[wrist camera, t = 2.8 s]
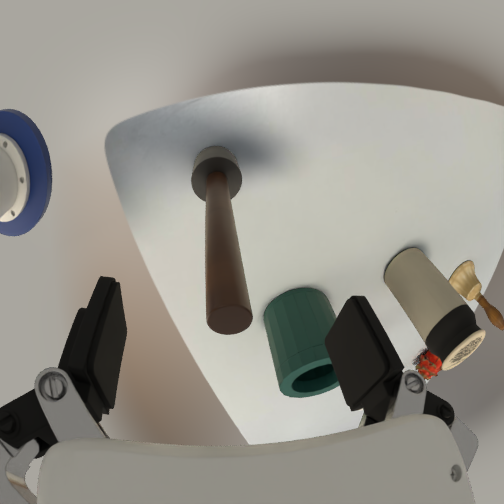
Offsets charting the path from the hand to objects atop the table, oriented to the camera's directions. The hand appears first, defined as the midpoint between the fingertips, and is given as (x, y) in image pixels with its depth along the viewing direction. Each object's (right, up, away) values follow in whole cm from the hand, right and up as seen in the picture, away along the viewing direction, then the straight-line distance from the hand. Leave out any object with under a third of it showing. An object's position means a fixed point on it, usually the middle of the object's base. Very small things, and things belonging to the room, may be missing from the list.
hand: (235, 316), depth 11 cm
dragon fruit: (+49, -26, +51) cm, 75 cm away
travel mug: (+25, 0, +29) cm, 38 cm away
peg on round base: (-3, +11, +16) cm, 20 cm away
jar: (+7, -7, +30) cm, 32 cm away
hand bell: (+44, -2, +34) cm, 56 cm away
